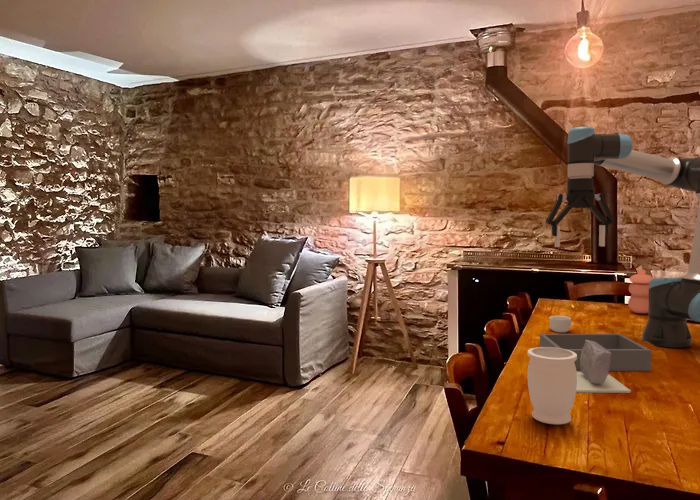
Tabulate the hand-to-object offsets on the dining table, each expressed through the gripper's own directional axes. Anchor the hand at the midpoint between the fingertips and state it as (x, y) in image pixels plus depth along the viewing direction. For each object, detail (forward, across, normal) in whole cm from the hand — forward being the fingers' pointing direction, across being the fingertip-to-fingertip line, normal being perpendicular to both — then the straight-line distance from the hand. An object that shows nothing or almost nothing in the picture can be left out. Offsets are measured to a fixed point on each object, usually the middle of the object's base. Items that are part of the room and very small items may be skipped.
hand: (579, 246), depth 170 cm
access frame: (+35, -2, +6) cm, 35 cm away
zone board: (+35, +7, +27) cm, 45 cm away
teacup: (+35, -6, -35) cm, 50 cm away
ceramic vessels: (+35, -63, -67) cm, 98 cm away
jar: (+35, +24, +52) cm, 67 cm away
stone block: (+34, +5, +27) cm, 44 cm away
